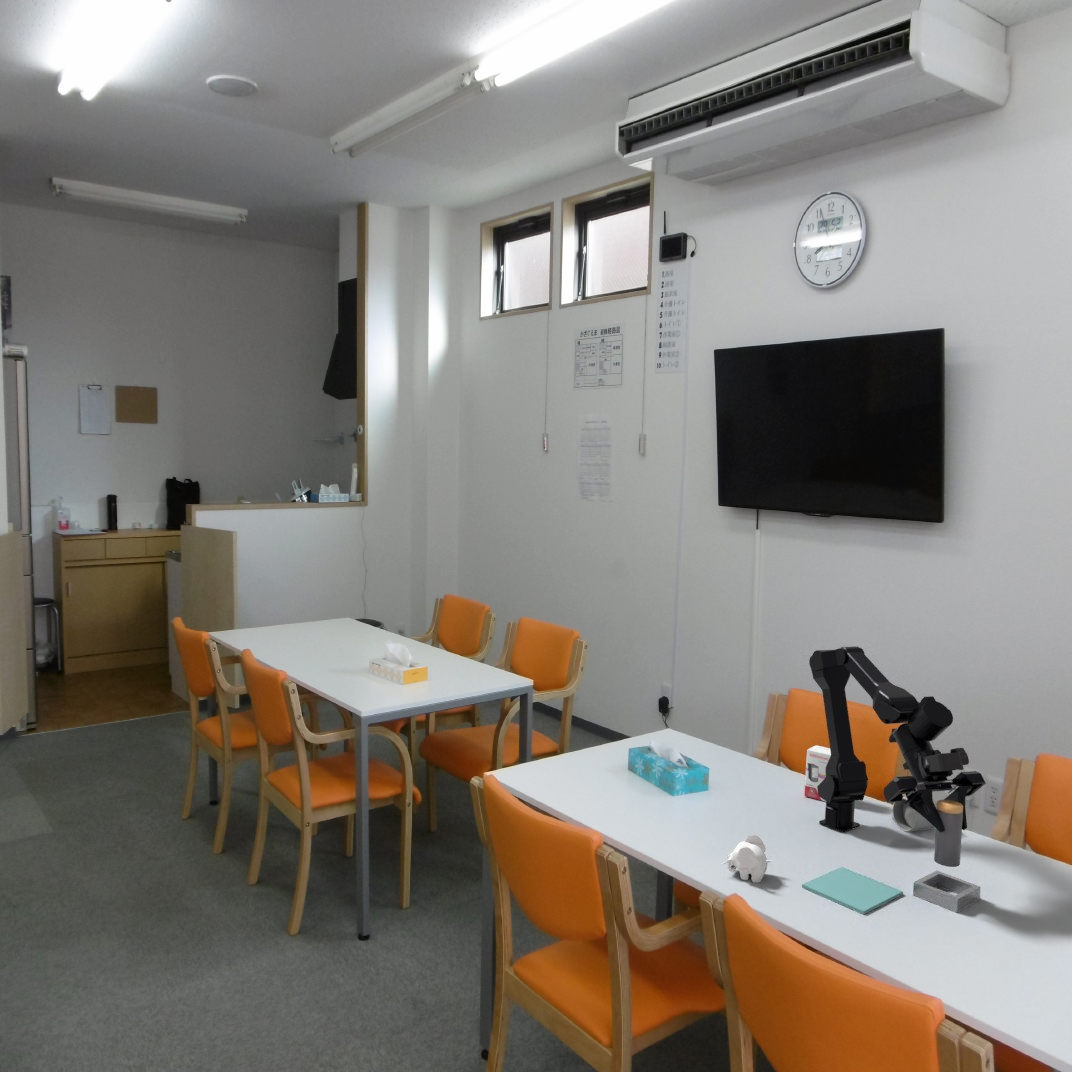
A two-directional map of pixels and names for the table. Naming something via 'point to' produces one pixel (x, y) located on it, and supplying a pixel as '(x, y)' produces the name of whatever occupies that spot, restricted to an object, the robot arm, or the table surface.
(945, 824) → the grey orange domed cylinder
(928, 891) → the collar
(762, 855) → the elephant figurine
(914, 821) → the ceramic mug
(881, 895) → the teal mat
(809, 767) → the ink box
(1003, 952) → the table surface
